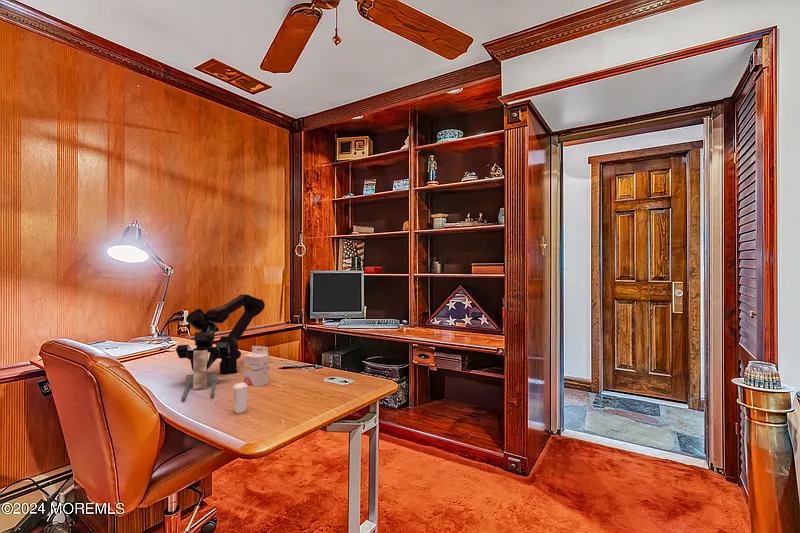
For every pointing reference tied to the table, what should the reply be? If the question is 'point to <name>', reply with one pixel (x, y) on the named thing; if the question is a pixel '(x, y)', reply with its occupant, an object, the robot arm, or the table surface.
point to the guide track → (210, 381)
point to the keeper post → (200, 369)
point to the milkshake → (240, 397)
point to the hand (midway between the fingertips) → (199, 369)
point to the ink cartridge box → (256, 367)
